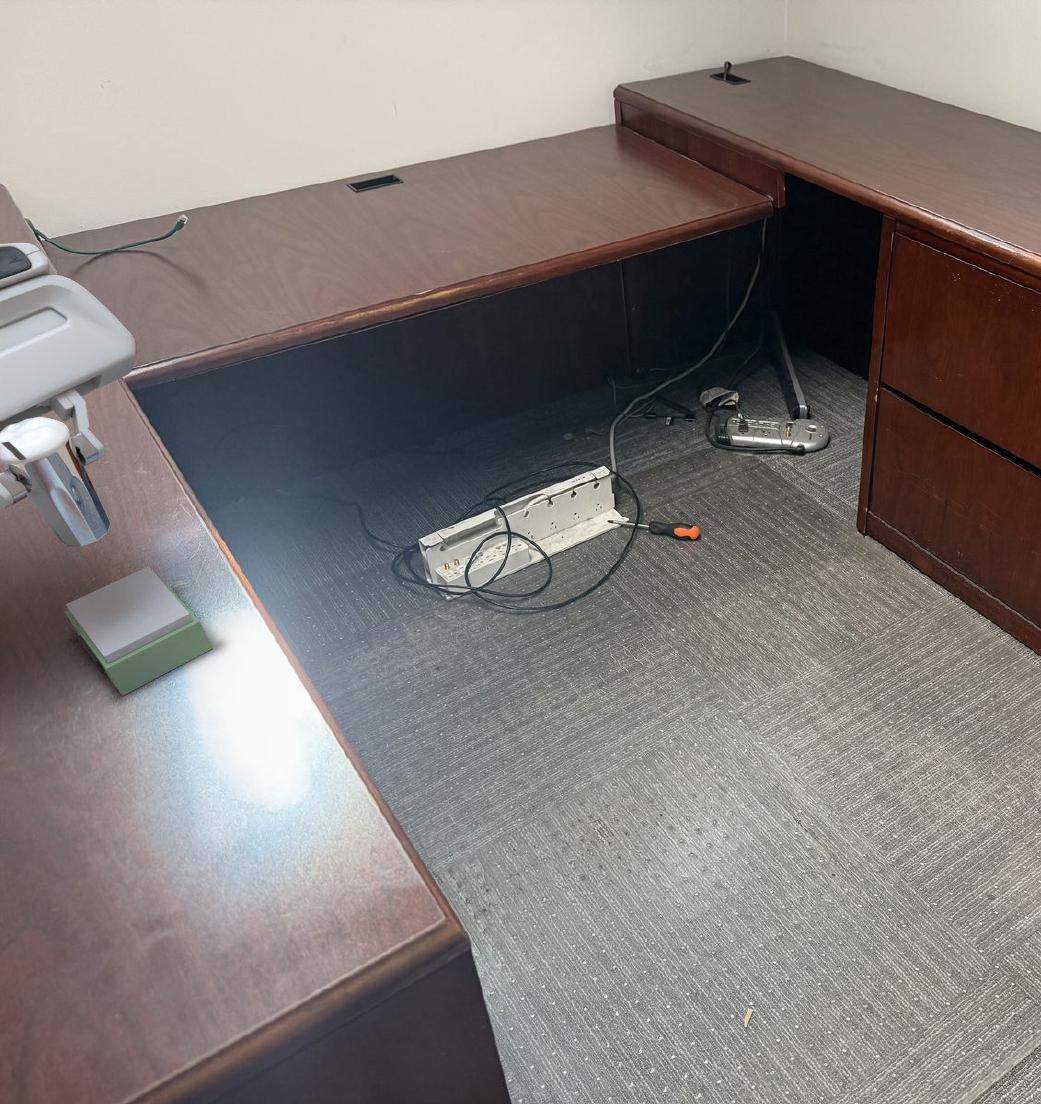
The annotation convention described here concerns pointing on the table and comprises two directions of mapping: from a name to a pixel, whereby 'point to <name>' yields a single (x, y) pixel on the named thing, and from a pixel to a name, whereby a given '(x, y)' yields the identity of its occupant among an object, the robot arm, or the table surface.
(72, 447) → the milkshake
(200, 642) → the scale
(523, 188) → the table surface
